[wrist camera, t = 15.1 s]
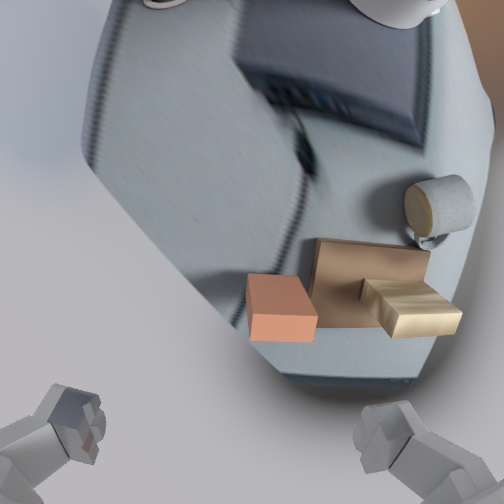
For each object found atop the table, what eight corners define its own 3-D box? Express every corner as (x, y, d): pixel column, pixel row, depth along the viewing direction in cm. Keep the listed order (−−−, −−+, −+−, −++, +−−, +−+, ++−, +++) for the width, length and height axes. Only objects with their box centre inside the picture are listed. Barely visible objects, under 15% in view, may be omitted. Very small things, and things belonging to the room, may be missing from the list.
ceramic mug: (396, 181, 38) (428, 190, 30) (441, 170, 37) (475, 178, 30) (405, 253, 41) (433, 273, 34) (447, 239, 41) (477, 256, 34)
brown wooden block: (316, 237, 39) (349, 272, 28) (423, 247, 41) (473, 278, 29) (302, 320, 43) (324, 373, 31) (403, 320, 44) (442, 363, 33)
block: (247, 273, 38) (253, 313, 28) (297, 276, 38) (318, 316, 29) (245, 295, 39) (250, 340, 29) (294, 298, 39) (312, 342, 30)
